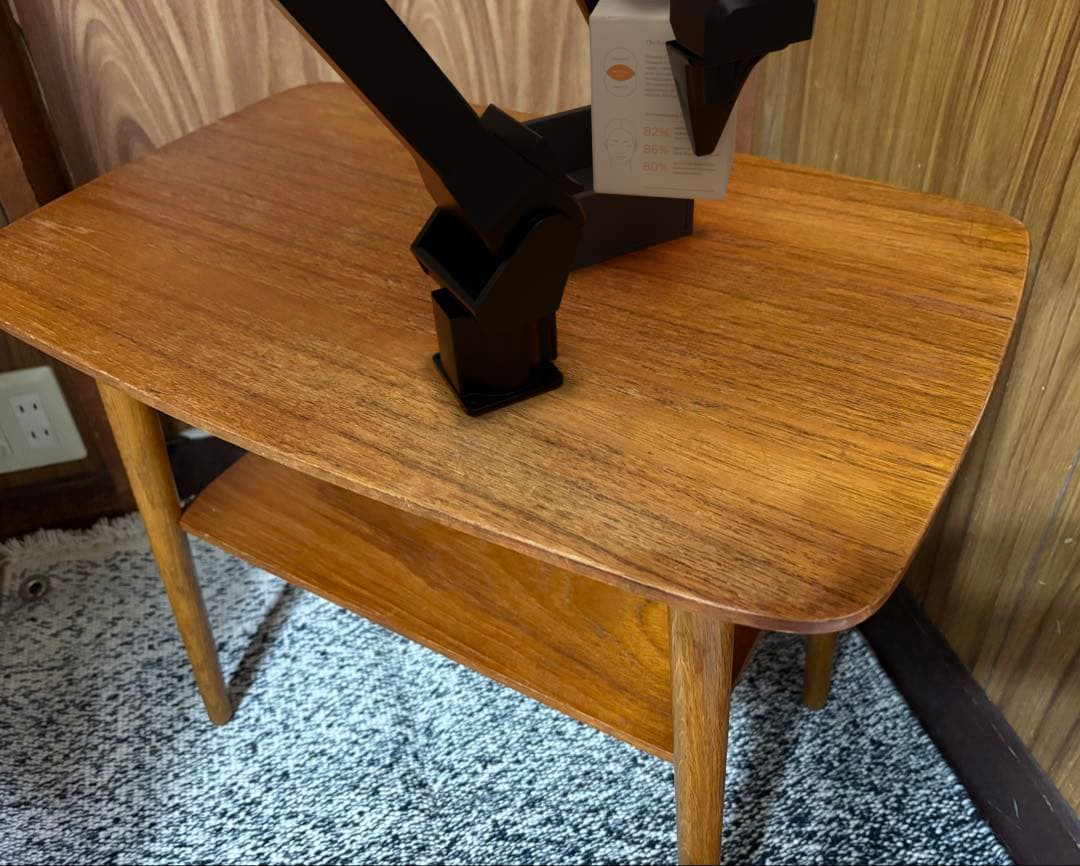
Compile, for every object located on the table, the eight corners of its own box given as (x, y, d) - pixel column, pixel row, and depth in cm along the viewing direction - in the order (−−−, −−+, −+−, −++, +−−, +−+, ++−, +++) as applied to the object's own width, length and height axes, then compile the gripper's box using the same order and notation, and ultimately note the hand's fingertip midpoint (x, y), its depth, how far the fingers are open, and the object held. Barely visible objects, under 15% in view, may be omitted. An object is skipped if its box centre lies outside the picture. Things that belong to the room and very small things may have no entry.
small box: (734, 161, 61) (750, -17, 54) (725, 204, 57) (741, 18, 50) (608, 153, 63) (607, -21, 56) (590, 194, 59) (587, 13, 52)
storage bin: (556, 276, 70) (553, 205, 66) (482, 199, 79) (476, 133, 76) (693, 234, 73) (696, 164, 70) (606, 164, 83) (606, 100, 79)
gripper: (941, -176, 43) (879, 157, 53) (719, -226, 56) (703, 49, 67) (721, -140, 40) (700, 205, 50) (541, -202, 53) (553, 82, 64)
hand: (665, 125), depth 58 cm, fingers closed on small box, 8 cm apart
